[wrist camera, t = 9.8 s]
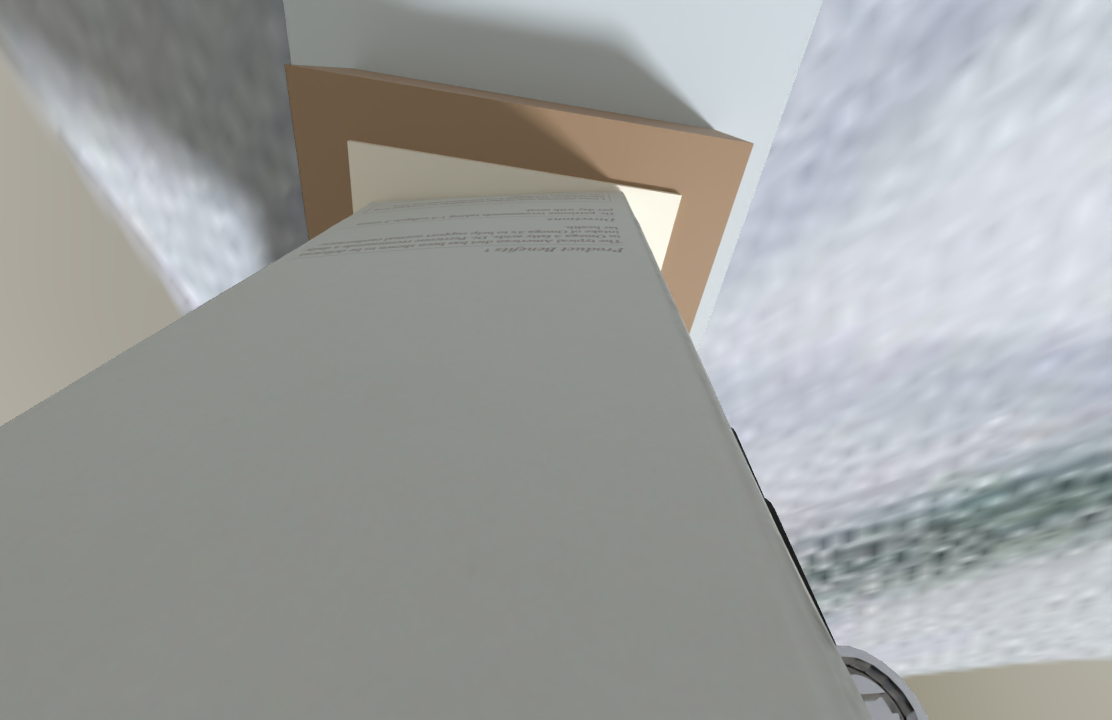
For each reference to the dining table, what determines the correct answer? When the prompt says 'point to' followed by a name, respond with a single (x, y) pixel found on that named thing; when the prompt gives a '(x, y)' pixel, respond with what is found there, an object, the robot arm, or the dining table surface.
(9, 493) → the supplement box
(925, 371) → the dining table surface
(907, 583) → the dining table surface
